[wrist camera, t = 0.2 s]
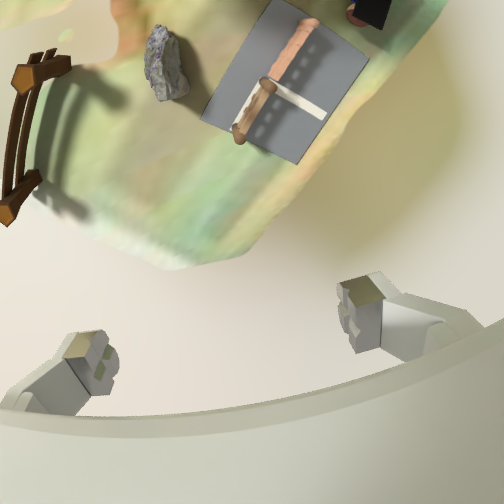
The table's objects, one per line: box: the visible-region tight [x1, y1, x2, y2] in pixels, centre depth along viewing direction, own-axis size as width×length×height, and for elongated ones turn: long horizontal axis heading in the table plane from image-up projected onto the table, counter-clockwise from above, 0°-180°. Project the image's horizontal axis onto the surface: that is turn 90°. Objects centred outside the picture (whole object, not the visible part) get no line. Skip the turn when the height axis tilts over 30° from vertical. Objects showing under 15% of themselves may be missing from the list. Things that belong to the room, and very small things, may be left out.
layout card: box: [200, 0, 369, 164], centre depth 50 cm, size 28×22×1 cm
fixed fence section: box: [231, 77, 278, 145], centre depth 50 cm, size 12×2×7 cm, turn 151°
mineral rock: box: [144, 24, 190, 101], centre depth 41 cm, size 13×11×10 cm
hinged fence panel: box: [268, 18, 320, 81], centre depth 43 cm, size 13×2×6 cm, turn 150°
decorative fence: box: [0, 48, 71, 227], centre depth 41 cm, size 34×6×15 cm, turn 150°
